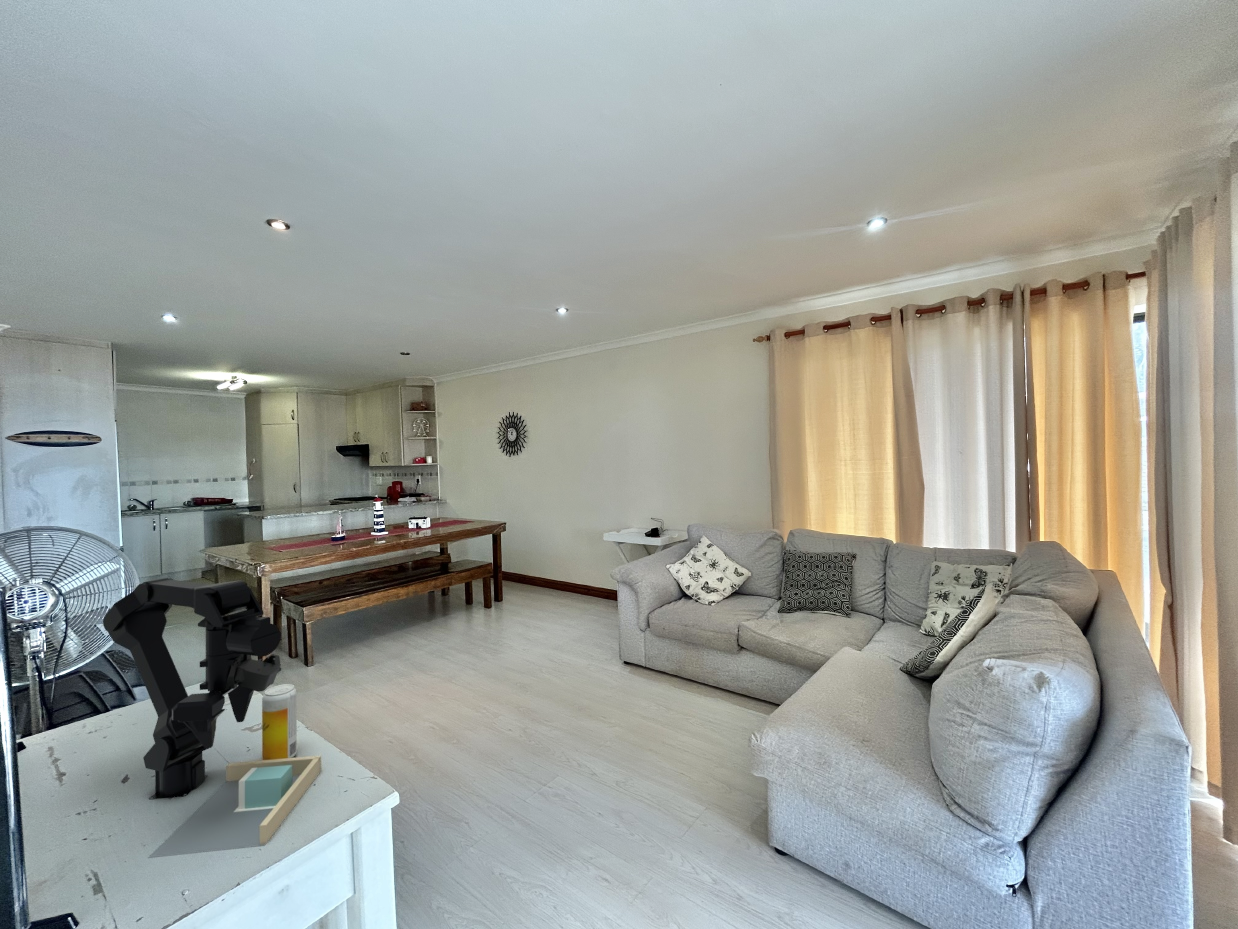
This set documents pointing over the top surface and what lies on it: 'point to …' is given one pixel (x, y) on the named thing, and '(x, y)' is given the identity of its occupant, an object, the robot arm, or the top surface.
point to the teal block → (264, 786)
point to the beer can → (279, 722)
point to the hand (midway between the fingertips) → (225, 734)
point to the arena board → (239, 812)
